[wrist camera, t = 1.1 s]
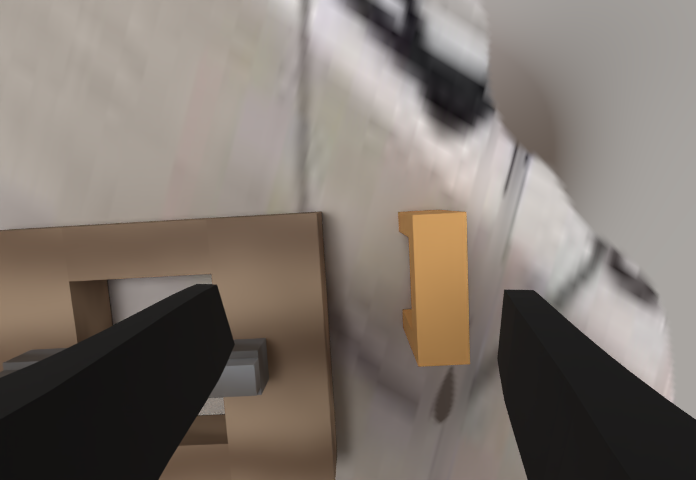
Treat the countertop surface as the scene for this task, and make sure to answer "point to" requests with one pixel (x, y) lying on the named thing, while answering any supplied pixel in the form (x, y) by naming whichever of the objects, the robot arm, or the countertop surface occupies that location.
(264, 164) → the countertop surface
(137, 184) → the countertop surface
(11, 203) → the countertop surface
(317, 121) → the countertop surface
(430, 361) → the orange c-shaped bracket
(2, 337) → the hook board
